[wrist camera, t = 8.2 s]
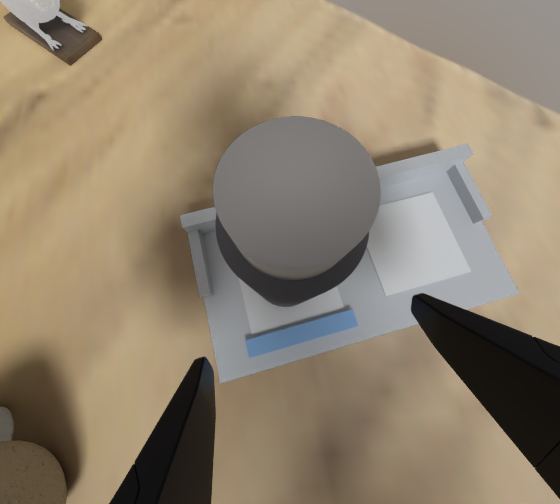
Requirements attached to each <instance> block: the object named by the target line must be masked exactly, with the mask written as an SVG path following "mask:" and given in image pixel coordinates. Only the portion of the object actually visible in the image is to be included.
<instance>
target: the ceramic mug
mask: <svg viewBox="0 0 560 504" xmlns="http://www.w3.org/2000/svg"><path fill="white" fill-rule="evenodd" d="M11 414H12V413H11V412H10V410H8V409H7V408H6V407H3V406H0V504H66V498H67V487H66V482H65V477H64V472H63V470H62V468H61V465H60V464H59V462H58V460H57V459H56V458H55V457H54V455H53V454H52V453H50V452H49V451H48V450H46V449H45V448H44V447H42V446H40V445H38V444H35V443H32V442H27V441H22V440H17V441H12V437H13V435H14V422H13V418H12V415H11Z"/></svg>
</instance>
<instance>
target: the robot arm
mask: <svg viewBox="0 0 560 504" xmlns="http://www.w3.org/2000/svg"><path fill="white" fill-rule="evenodd" d="M411 312H412V314H413V316H414V317H415V319H416V320H417V322H418V323H419V325H420V326H421V328H422V329H423V331H424V332H425V334H426V335H427V337H428V338H429V340H430V341H431V343H432V344H433V345H434V347H435V348H436V349H437V350H438V352H439V353H440V354H441V355H442V357H443V358H444V359H445V360H446V361H447V363H448V364H449V365H450V366H451V367H452V369H453V370H454V371H455V372H456V374H457V375H458V376H459V377H460V378H461V380H462V381H463V382H464V383H465V384H466V386H467V387H468V388H469V389H470V390H471V392H472V393H473V394H474V395H475V397H476V398H477V399H478V400H479V401H480V403H481V404H482V405H483V406H484V407H485V409H486V410H487V411H488V412H489V414H490V415H491V416H492V417H493V418H494V420H495V421H496V422H497V423H498V424H499V426H500V427H501V428H502V429H503V430H504V432H505V433H506V434H507V435H508V437H509V438H510V439H511V440H512V441H513V443H514V444H515V445H516V446H517V447H518V449H519V450H520V451H521V452H522V454H523V455H524V456H525V457H526V458H527V460H528V461H529V462H530V463H531V464H532V466H533V467H535V470H536V471H537V472H538V473H539V474H540V476H541V477H542V478H543V479H544V480H545V482H546V483H547V484H548V485H549V487H550V488H551V489H552V490H553V491H554V493H555V494H556V495H557V496H558V497H559V499H560V346H557V345H554V344H552V343H549V342H546V341H544V340H541V339H539V338H536V337H532V336H531V335H529V334H526V333H524V332H521V331H518V330H516V329H513V328H511V327H508V326H506V325H503V324H501V323H498V322H496V321H493V320H491V319H488V318H486V317H483V316H480V315H478V314H475V313H473V312H470V311H468V310H465V309H463V308H460V307H458V306H455V305H453V304H450V303H447V302H445V301H442V300H440V299H437V298H435V297H432V296H430V295H427V294H425V293H419V294H416V295H413V297H412V302H411ZM215 419H216V409H215V389H214V372H213V368H212V366H211V365H210V363H209V361H208V359H207V358H206V357H201V358H198V359H195V360H194V362H193V363H192V365H191V367H190V368H189V370H188V372H187V374H186V375H185V377H184V379H183V380H182V382H181V384H180V385H179V387H178V389H177V391H176V392H175V394H174V396H173V397H172V399H171V401H170V402H169V404H168V406H167V408H166V409H165V411H164V413H163V414H162V416H161V418H160V419H159V421H158V423H157V425H156V426H155V428H154V430H153V431H152V433H151V435H150V437H149V438H148V440H147V442H146V443H145V445H144V447H143V448H142V450H141V452H140V454H139V455H138V457H137V459H136V460H135V464H133V465H132V467H131V469H130V470H129V472H128V474H127V475H126V477H125V479H124V480H123V482H122V484H121V485H120V487H119V489H118V490H117V492H116V494H115V495H114V497H113V499H112V500H111V502H110V503H109V504H211V495H212V476H213V457H214V438H215Z"/></svg>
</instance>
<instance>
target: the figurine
mask: <svg viewBox="0 0 560 504" xmlns="http://www.w3.org/2000/svg"><path fill="white" fill-rule="evenodd" d="M0 1H1V2H2V3H3V4H4V5H5V6H6V7H7V8H8V9H9V10H10V11H11V12H10V13H8V14H7V15H5V16H4V19H5V20H6V21H7V22H8V23H9V24H10V25H11V26H12V27H14V28H15V29H17V30H18V31H20V32H21V33H23V34H24V35H26V36H27V37H29V38H30V39H32V40H33V41H35V42H36V43H38V44H39V45H41V46H42V47H43V48H45V49H46V50H48V51H49V52H51V53H52V54H54V55H55V56H57V57H58V58H60V59H61V60H63V61H64V62H66V63H67V64H69V65H70V66H71V65H72V64H73V63H75V62H76V61H77V60H78V59H80V58H81V57H82V56H83V55H84V54H86V53H87V52H88V51H89V50H90V49H92V48H93V47H94V46H95V45H96V44H98V43H99V42H100V41H101V40H102V39H101V37H100V35H99V34H98V33H97V32H96V31H94V30H93V29H91V28H89V27H88V26H87V25H85V24H84V23H82V22H80V21H78V20H77V19H75V18H74V17H72V16H71V15H69V14H67V13H66V12H64V11H63V10H61V9H59V8H60V0H0Z"/></svg>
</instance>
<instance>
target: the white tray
mask: <svg viewBox="0 0 560 504" xmlns="http://www.w3.org/2000/svg"><path fill="white" fill-rule="evenodd" d="M472 155H473V152H472V151H471V149H470V147H469V145H468V144H465V145H461V146H457V147H453V148H449V149H445V150H440V151H436V152H432V153H428V154H424V155H420V156H416V157H412V158H408V159H404V160H400V161H396V162H392V163H388V164H384V165H380V166H376V169H377V172H378V176H379V180H380V189H381V197H380V205H379V210H378V213H377V216H376V219H375V221H374V223H373V225H372V227H371V229H370V230H369V239H368V243H367V247H366V250H365V253H364V255H363V257H362V259H361V261H360V263H359V265H358V266H357V267H356V269H355V270H354V271H353V272H352V274H351V275H350V276H349V277H347V278H346V279H345V280H344V281H343V282H342V283H340V284H339V285H338V286H336V287H334V288H333V289H331V290H329V291H327V292H325V293H323V294H320V295H318V296H316V297H314V298H311V299H309V300H307V301H305V302H302V303H300V304H298V305H295V306H291V307H280V306H276V305H273V304H271V303H270V302H268V301H267V300H265V299H264V298H263V297H262V296H261V295H259V294H258V293H257V292H256V291H254V290H253V289H252V288H251V287H249V286H248V285H247V284H246V283H244V282H243V281H242V280H241V279H240V278H239V277H237V276H236V275H235V273H234V272H233V271H232V270H231V269H230V268H229V266H228V265H227V263H226V262H225V260H224V258H223V256H222V254H221V252H220V249H219V246H218V243H217V238H216V228H215V221H216V213H217V212H216V209H215V207H211V208H207V209H203V210H199V211H195V212H191V213H187V214H183V215H180V220H181V226H182V228H183V229H184V230H185V231H186V232H187V233H188V239H189V244H190V249H191V255H192V260H193V266H194V271H195V276H196V282H197V287H198V292H199V297H201V298H204V301H205V306H206V312H207V317H208V322H209V327H210V333H211V338H212V343H213V348H214V354H215V359H216V364H217V369H218V374H219V380H220V384H221V383H224V382H228V381H231V380H234V379H238V378H241V377H244V376H248V375H251V374H254V373H258V372H261V371H264V370H268V369H271V368H274V367H277V366H281V365H284V364H287V363H291V362H294V361H297V360H301V359H304V358H307V357H311V356H314V355H317V354H321V353H324V352H327V351H331V350H334V349H337V348H341V347H344V346H347V345H350V344H354V343H357V342H360V341H364V340H367V339H370V338H374V337H377V336H380V335H384V334H387V333H390V332H394V331H397V330H400V329H404V328H407V327H410V326H414V325H417V324H419V323H418V322H417V320H416V319H415V317H414V316H413V314H412V312H411V302H412V297H413V295H416V294H419V293H425V294H427V295H430V296H432V297H435V298H437V299H440V300H442V301H445V302H447V303H450V304H453V305H455V306H458V307H460V308H463V309H465V310H467V309H470V308H473V307H477V306H480V305H483V304H487V303H490V302H493V301H497V300H500V299H503V298H507V297H510V296H513V295H516V294H520V292H519V291H518V289H517V287H516V285H515V283H514V281H513V279H512V277H511V275H510V273H509V272H508V270H507V268H506V266H505V264H504V262H503V260H502V258H501V256H500V254H499V253H498V251H497V249H496V247H495V245H494V243H493V241H492V239H491V237H490V235H489V234H488V232H487V230H486V228H485V226H484V224H483V222H482V221H484V220H487V219H489V218H491V217H493V215H492V214H491V212H490V210H489V208H488V206H487V204H486V202H485V201H484V199H483V197H482V195H481V193H480V191H479V190H478V188H477V186H476V184H475V182H474V180H473V178H472V177H471V175H470V173H469V171H468V169H467V167H466V166H465V164H464V162H465V161H466V160H467V159H468V158H470V157H471V156H472Z"/></svg>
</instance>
